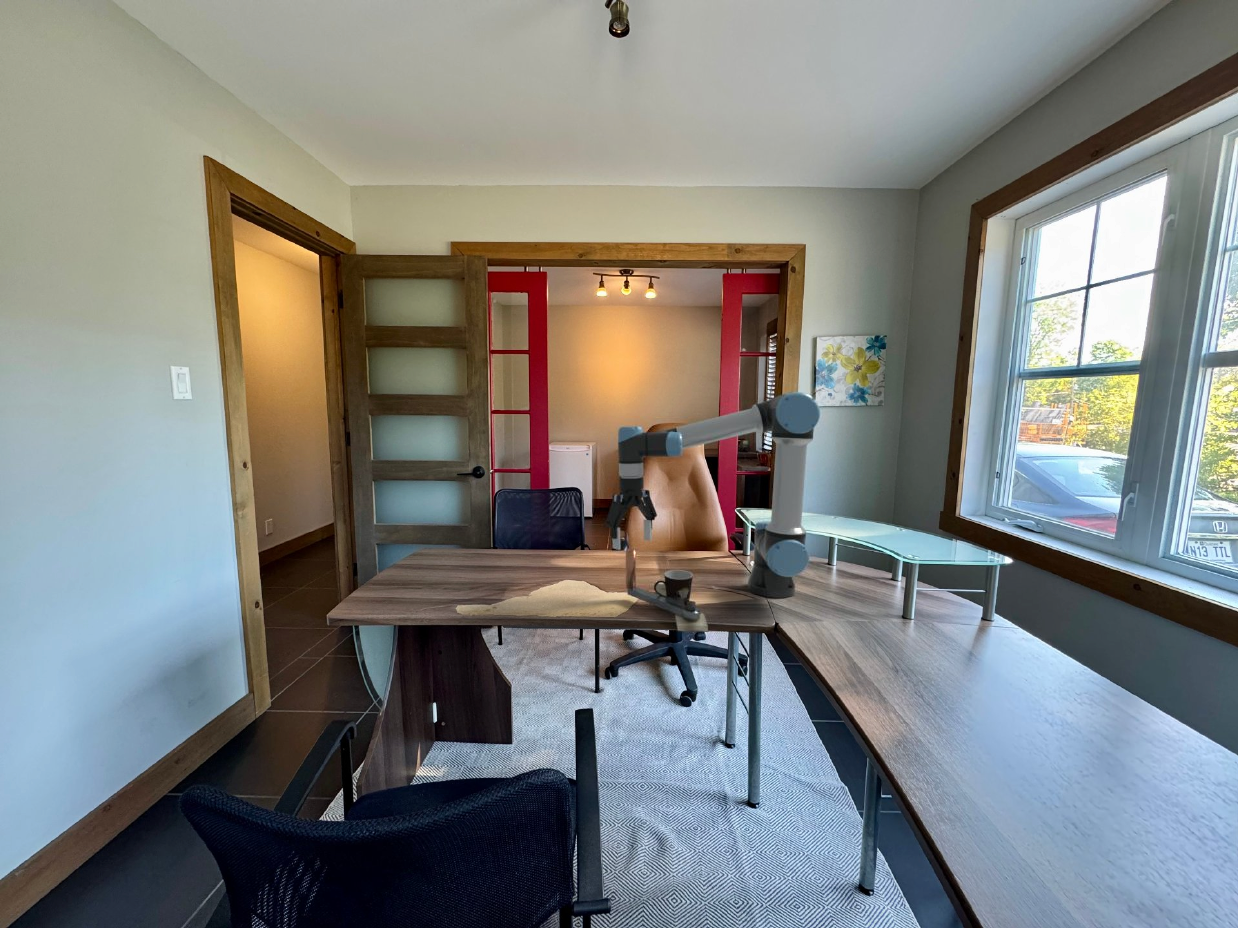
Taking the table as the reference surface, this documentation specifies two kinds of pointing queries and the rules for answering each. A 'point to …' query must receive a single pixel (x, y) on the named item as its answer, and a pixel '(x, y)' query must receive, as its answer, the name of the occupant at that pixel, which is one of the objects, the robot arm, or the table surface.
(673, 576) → the coffee mug
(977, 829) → the table surface
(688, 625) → the pivot pedestal
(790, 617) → the table surface
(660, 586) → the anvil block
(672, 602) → the lever
